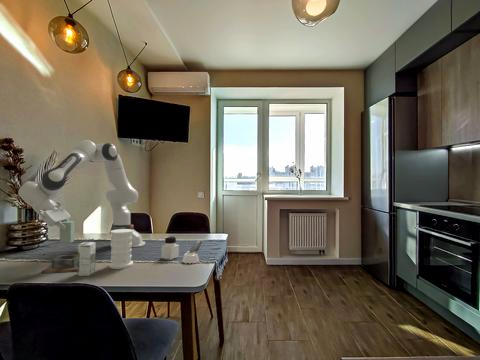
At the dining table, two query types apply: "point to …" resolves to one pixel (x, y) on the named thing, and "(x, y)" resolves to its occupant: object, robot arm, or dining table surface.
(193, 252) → the inkwell
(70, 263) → the collar stand
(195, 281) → the dining table surface
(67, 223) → the square peg
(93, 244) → the syrup box
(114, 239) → the decorative container
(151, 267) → the dining table surface
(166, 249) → the medicine bottle
